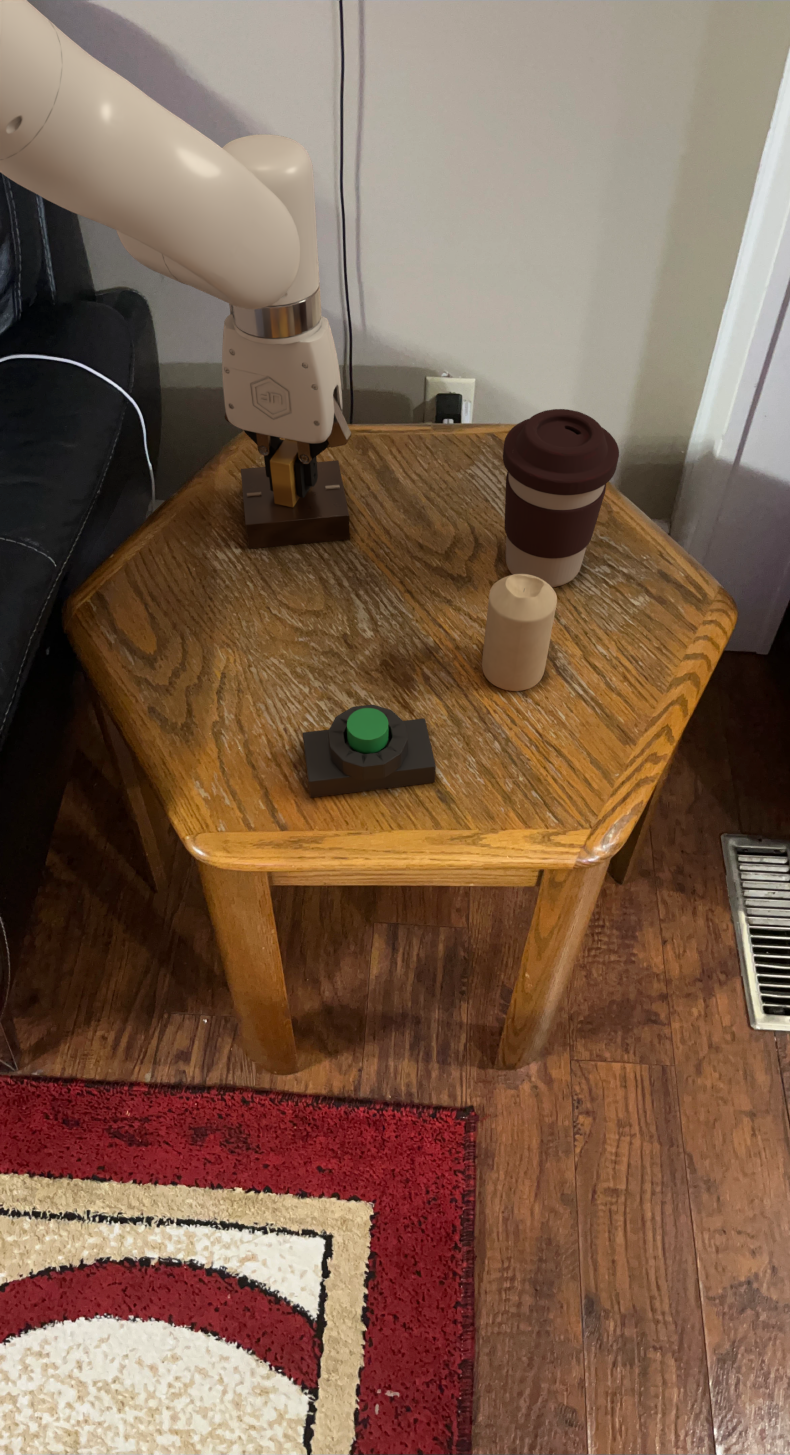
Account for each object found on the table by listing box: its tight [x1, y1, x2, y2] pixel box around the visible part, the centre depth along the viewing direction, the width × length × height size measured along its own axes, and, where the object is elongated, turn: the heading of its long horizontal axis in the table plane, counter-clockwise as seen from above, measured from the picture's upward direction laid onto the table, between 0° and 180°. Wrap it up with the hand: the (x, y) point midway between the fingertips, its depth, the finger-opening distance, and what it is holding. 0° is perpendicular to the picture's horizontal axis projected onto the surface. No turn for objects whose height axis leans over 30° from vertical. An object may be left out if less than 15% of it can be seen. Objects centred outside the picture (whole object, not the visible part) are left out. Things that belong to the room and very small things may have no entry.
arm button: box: [347, 708, 388, 754], centre depth 76 cm, size 3×3×2 cm
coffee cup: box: [502, 408, 620, 588], centre depth 89 cm, size 10×10×15 cm
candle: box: [481, 574, 558, 692], centre depth 82 cm, size 6×6×10 cm
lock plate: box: [240, 459, 351, 550], centre depth 98 cm, size 10×9×3 cm
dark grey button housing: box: [302, 704, 437, 798], centre depth 78 cm, size 10×6×4 cm, turn 99°
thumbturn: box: [270, 438, 300, 507], centre depth 95 cm, size 5×2×5 cm, turn 162°
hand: (292, 484), depth 96 cm, fingers closed on thumbturn, 2 cm apart
